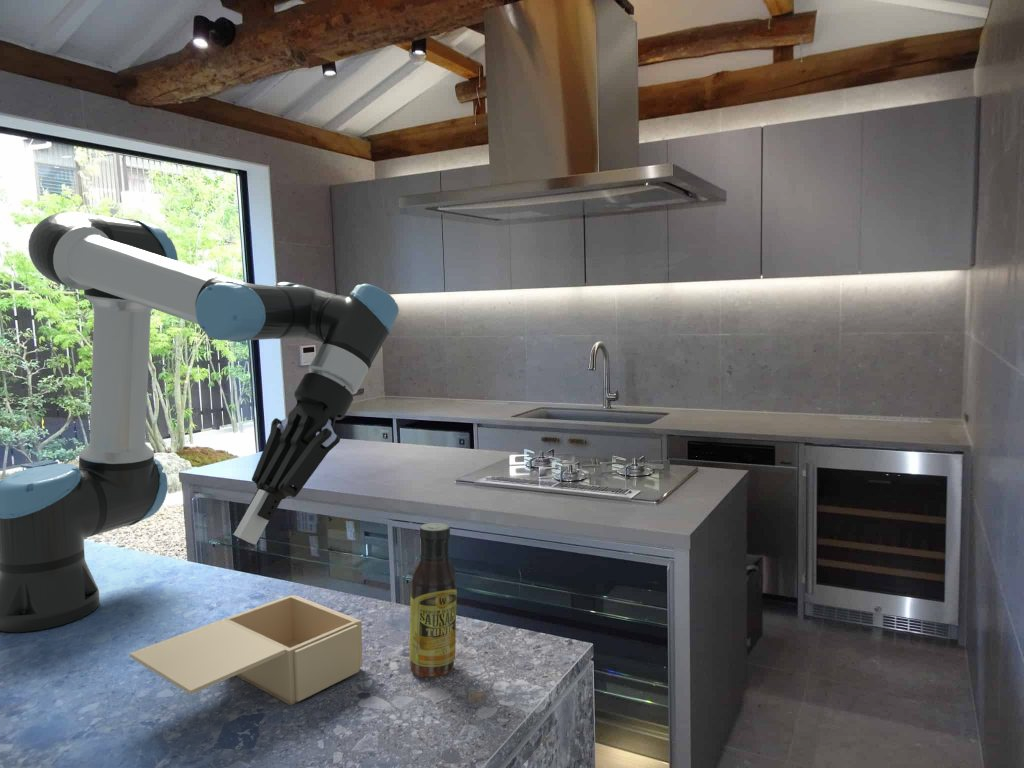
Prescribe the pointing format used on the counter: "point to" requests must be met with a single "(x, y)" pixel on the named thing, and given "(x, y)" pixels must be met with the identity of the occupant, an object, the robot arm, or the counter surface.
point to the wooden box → (302, 647)
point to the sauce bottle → (433, 605)
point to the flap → (206, 655)
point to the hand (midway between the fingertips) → (244, 539)
